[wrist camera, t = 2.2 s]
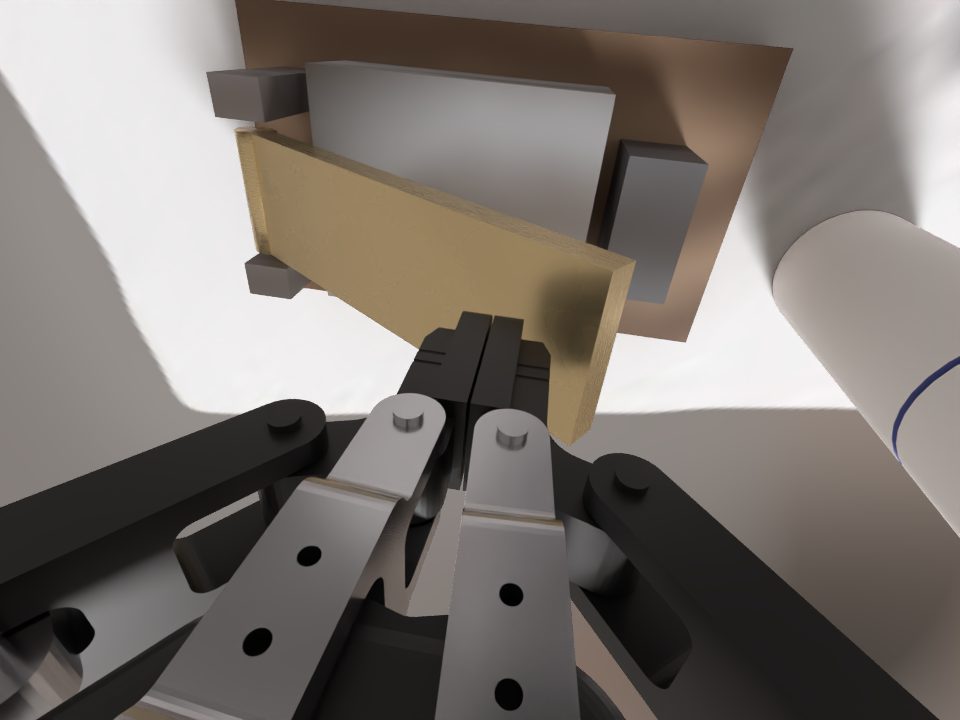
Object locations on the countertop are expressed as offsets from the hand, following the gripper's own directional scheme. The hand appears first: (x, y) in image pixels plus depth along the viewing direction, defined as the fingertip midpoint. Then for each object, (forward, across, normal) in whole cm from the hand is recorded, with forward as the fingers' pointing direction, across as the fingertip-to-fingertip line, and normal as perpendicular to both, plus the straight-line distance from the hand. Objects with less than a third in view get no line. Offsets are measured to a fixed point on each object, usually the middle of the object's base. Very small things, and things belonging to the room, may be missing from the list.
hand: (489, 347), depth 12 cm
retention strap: (+6, +4, 0) cm, 7 cm away
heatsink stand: (+18, +2, 0) cm, 18 cm away
